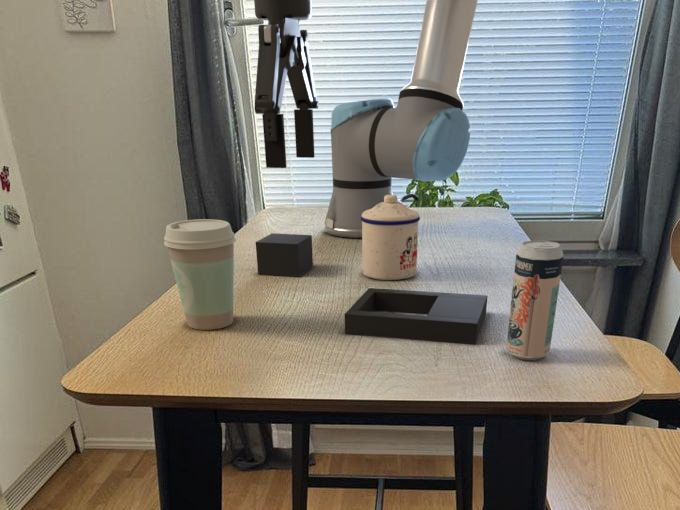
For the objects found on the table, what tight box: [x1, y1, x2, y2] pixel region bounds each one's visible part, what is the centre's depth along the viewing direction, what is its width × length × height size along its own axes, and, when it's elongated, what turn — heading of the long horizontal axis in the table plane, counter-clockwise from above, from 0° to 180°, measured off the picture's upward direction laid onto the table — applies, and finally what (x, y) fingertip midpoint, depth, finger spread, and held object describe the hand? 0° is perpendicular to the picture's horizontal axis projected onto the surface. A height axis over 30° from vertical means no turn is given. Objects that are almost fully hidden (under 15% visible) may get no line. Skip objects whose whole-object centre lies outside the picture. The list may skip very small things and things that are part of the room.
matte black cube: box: [255, 232, 314, 278], centre depth 108 cm, size 7×7×5 cm
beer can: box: [505, 239, 564, 361], centre depth 72 cm, size 5×5×12 cm
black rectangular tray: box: [344, 287, 488, 345], centre depth 85 cm, size 12×16×2 cm
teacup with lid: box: [361, 194, 421, 281], centre depth 105 cm, size 12×9×12 cm
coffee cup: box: [163, 218, 237, 331], centre depth 83 cm, size 8×9×12 cm
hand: (291, 162), depth 98 cm, fingers open, 13 cm apart
